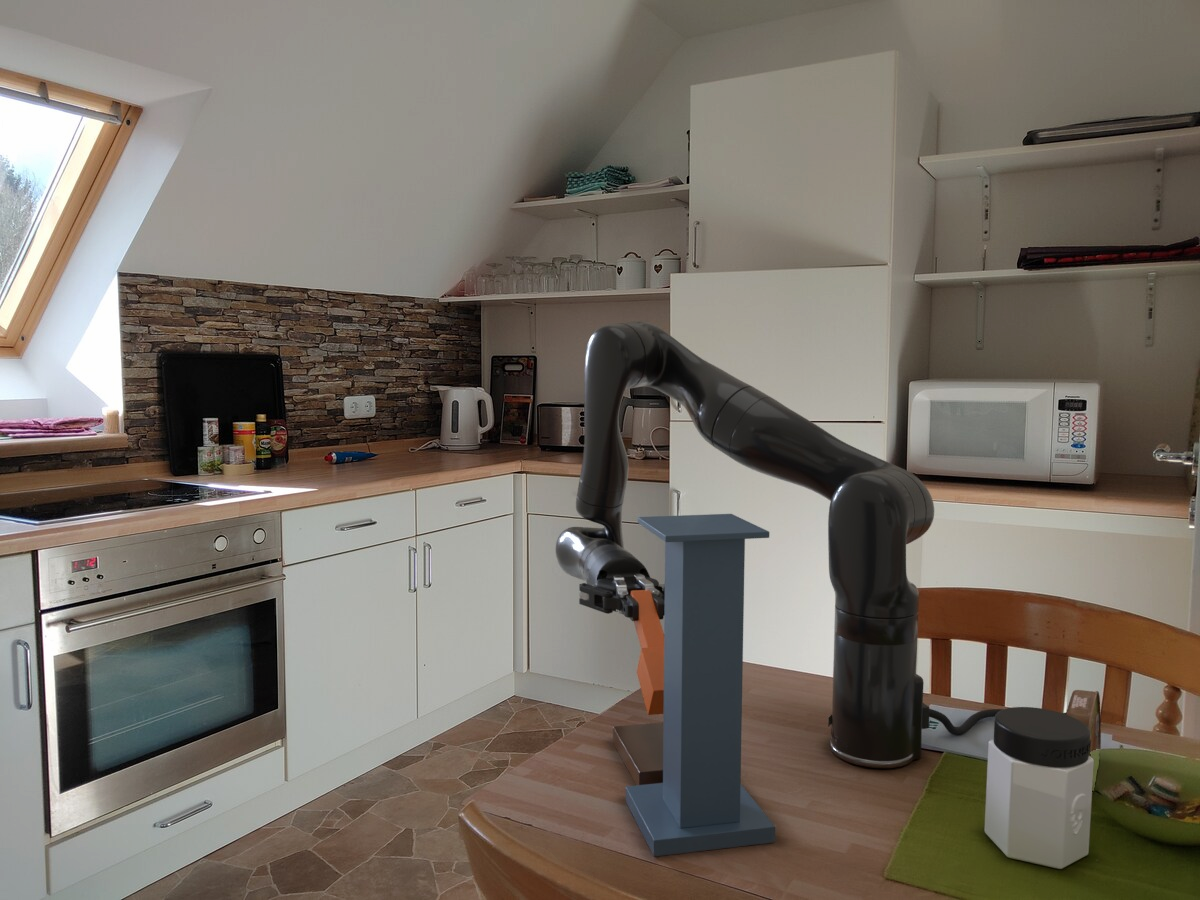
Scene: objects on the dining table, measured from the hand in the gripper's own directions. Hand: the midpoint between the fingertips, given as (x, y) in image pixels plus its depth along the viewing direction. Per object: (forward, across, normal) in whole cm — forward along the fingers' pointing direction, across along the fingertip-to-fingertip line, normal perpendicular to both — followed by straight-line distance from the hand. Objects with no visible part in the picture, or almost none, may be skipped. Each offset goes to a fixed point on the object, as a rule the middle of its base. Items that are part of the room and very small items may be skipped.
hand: (648, 611), depth 108 cm
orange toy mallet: (+2, 0, +4) cm, 5 cm away
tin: (+18, +45, +16) cm, 51 cm away
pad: (+5, +1, +16) cm, 17 cm away
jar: (+30, +30, +16) cm, 45 cm away
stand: (+19, 0, +16) cm, 25 cm away
